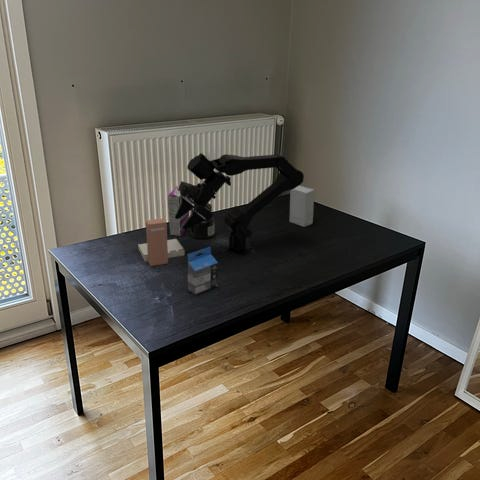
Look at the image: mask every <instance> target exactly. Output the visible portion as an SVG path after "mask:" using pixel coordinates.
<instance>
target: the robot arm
mask: <svg viewBox="0 0 480 480" xmlns="http://www.w3.org/2000/svg"><path fill="white" fill-rule="evenodd" d="M186 168H187V170H188V171H189V172H190V173H192V174H193V175H194V176H196V177H197V178H198V179H199V180H201V181H202V180H203V182H202V183H200V182H198V183H197V184H195V185H194V184H193V183H188V182H185V181H180V184H179V185H178V186H179V189H178V191H180V194H181V195H182V196H181V195H180V199H181V204H180V206H179V209H178V211H177V213H176V216H175V218H176V219H179V218H180V217H182V216H183V215H185V214H186V213H187V212H189V213H190V212H191V214H189V218H188V220H187V221H186V223H185V224H184V226H183V229H186V230H187V229H189V228H190V229H191V227H192V226H194V225H196V224H199V223H201V222H204V221H205V222H206V221H207V220H208V221H210V220H211V218H212V217H213V218H214V215H213V214H214V213H213V211H212V212H211V211H210V210H209V209H208V208H207V207H208V206H207V204H208V203H209V202H210V201H211V200H212V199H213V200H215V199H216V198H217V196H216V194H217V193H218V192H219V191H220V190H221V188H222V187H223V186H224V185H225V184H226V185H227V186H229V187H230V186H232V182H231V179H232V178H231V177H232V176H236V175H239V174H242V173H245V172H246V171H250V170H251V171H253V170H261V169H272V168H275V169H276V170H278V172H279V173H278V174H277V176H276V178H275V181H274V182H272V183H271V184H270V185H269V186H268V187H267V188H265V189H264V190H263V191H262V192H260V193H259V194H258V195H257V196H255V198H253V199H252V200H251V201H249V202H248V203H247V204H245V205H244V206H242V207H239V206H237V205H235V206H234V207H232V209H231V210H229V211H227V212H226V213H227V214H226V215H225V217H224V225H225V226H226V227H227V228H228V229H229V231H230V234H229V236H228V246H229V247H228V248H227V251H230V252H233V253H237V254H241V255H244V254H246V253H247V252H248V251H249V250H250V249H251V248H252V246H251V245H250V238H251V237H252V234H253V231H252V230H251V229H250V228H249V226H250V224H251V222H252V220H253V218H254V217H255V216H256V215H258V214H259V213H260V212H261V211H263V209H265V208H267V206H268V205H270V204H271V203H272V202H273V201H274V200H276V199H277V198H278V197H279V196H281V195H282V194H283V193H284V192H288V191H291V190H292V189H294V188H296V187H297V186H302V184H303V182H304V177H305V175H304V173H303V172H302V170H299V169H297V168H296V167H294V166H293V164H291V163H290V162H289V161H288V160H287V159H286V157H285V156H283V155H281V154H279V153H275V154H265V155H254V156H252V155H251V156H240V155H234V154H228V153H227V154H223V155H220V157H219V158H216V159H212V160H209V159H208V157H206V156H205V155H204V154H203V153H202V152H200V153H199V154H198V155H196V156H194V157H193V158H191V159H190V160H189V162H188V164H187V166H186ZM216 171H217V172H216ZM223 173H224V174H226V175H224V174H223ZM209 204H210V203H209ZM206 219H207V220H206Z"/></svg>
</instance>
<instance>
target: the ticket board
mask: <svg viewBox="0 0 480 480" xmlns="http://www.w3.org/2000/svg"><path fill="white" fill-rule="evenodd" d="M137 245H138V246H137V247H138V251H139V253H140V255H141V257H142V259H143V261H144V262H145V263H146V262H148V251H147V242H146V243H138V244H137ZM167 247H168V259H170V258H177V257H182V256H185V255H186V254H185V249H184V247H183V245H181V243H180V242H179V240H178V239H177V238H173V239H167Z"/></svg>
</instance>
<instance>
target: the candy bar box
mask: <svg viewBox="0 0 480 480" xmlns="http://www.w3.org/2000/svg"><path fill="white" fill-rule="evenodd" d="M179 186H180V185H176V186H175V188H174V189H172V190H171V191H170V192H169V193H168V194H167V204H168V205H167V207H168V208H167V209H168V222H169V223H168V225H169V235H170V236H173V235H174V236H173V237H182V236H183V234H184V233H186V231H187V229H183V226H184V224H185V223H186V221H187V220H188V218H189V217H190V211H189V212H187V213H186V214H185V215H183V216H182V217H180V218H179V219H176V218H175V216H176V213H177V211H178V209H179V206H180V204H181V199H180V195H181V194H180V191H178V189H179ZM181 196H182V195H181Z"/></svg>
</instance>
